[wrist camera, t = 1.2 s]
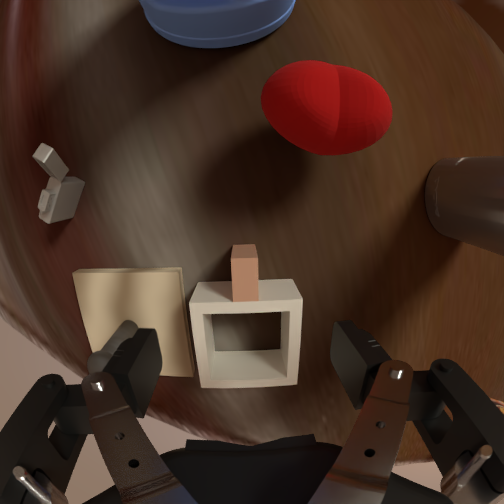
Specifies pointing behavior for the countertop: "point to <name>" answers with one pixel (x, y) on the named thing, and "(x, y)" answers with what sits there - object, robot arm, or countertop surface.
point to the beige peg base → (135, 313)
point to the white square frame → (246, 301)
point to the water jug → (216, 20)
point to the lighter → (57, 187)
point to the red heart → (326, 107)
